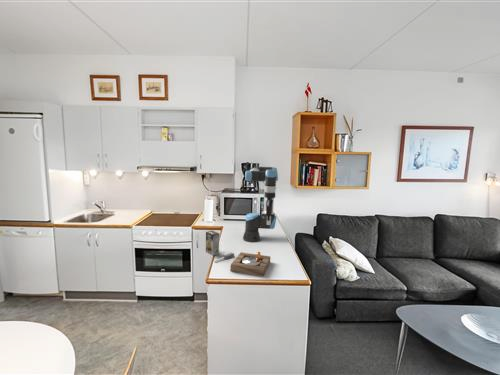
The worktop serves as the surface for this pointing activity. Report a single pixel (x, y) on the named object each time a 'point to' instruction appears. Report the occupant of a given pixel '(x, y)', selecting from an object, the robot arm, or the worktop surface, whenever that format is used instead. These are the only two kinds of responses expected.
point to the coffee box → (212, 242)
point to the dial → (252, 260)
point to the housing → (250, 269)
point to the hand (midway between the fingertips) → (268, 224)
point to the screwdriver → (226, 256)
